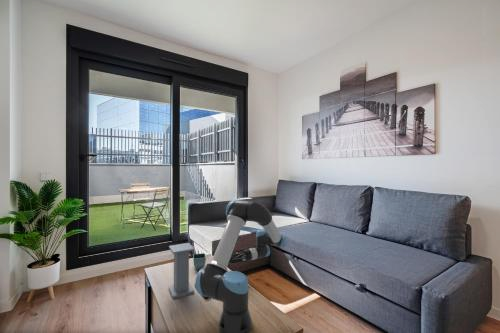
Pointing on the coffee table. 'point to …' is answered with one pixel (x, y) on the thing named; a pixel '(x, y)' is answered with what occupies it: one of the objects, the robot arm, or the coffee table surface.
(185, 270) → the plinth
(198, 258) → the flower pot
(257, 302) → the coffee table surface
